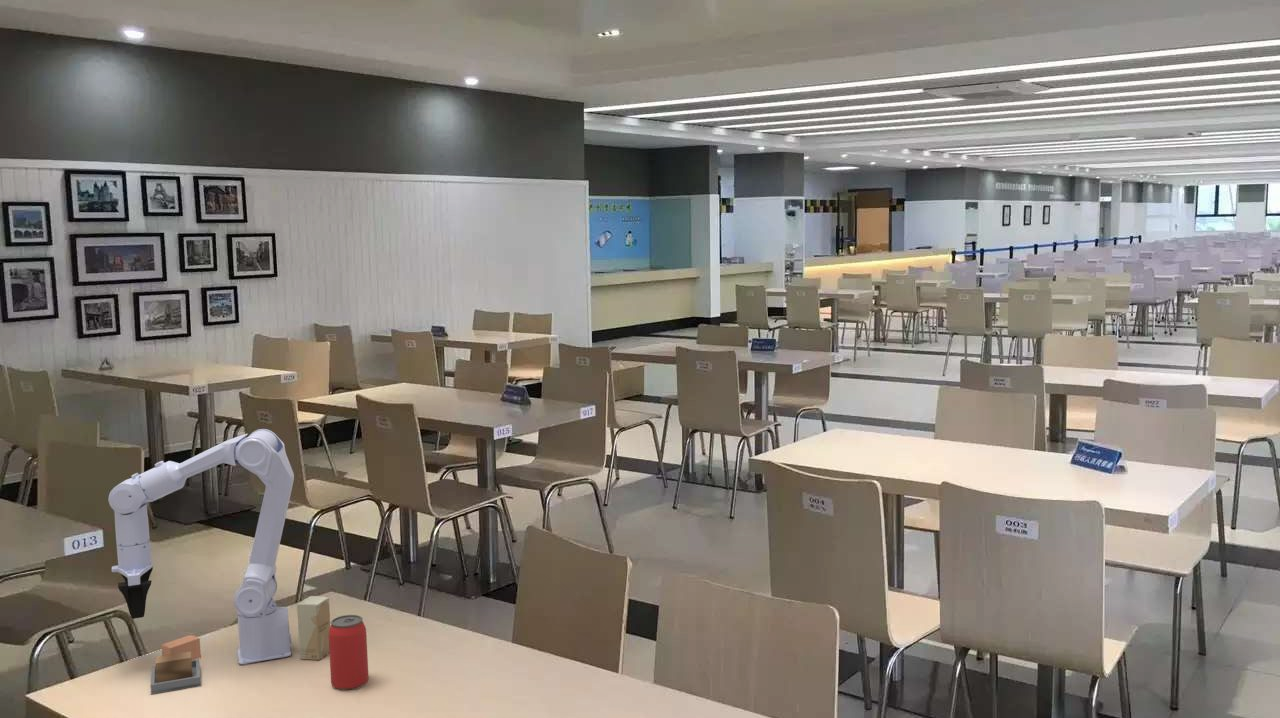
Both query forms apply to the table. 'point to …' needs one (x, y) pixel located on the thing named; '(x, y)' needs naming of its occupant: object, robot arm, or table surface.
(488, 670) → the table surface
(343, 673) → the beer can
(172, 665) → the walnut brick
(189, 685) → the tray
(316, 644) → the box
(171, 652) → the terracotta brick
